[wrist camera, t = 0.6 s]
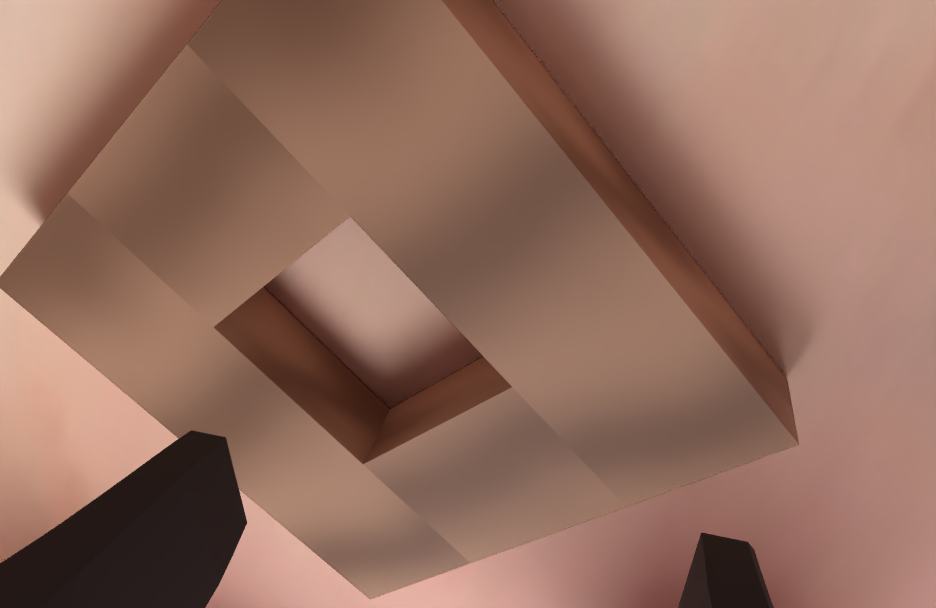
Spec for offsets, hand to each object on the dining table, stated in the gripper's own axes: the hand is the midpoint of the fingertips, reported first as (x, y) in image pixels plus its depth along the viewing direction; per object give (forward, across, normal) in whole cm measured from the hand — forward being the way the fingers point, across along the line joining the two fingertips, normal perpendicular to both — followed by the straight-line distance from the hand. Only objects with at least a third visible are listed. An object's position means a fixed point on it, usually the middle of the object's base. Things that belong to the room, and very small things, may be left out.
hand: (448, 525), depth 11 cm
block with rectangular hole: (+10, +4, +3) cm, 11 cm away
